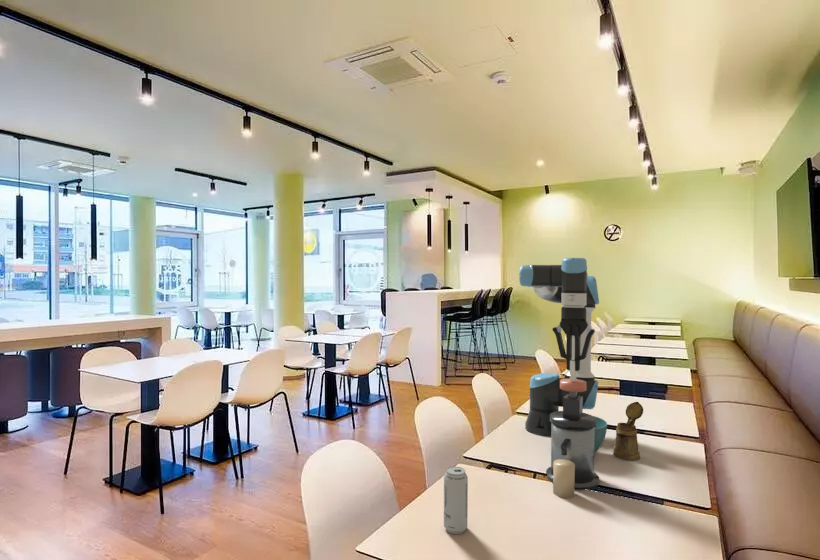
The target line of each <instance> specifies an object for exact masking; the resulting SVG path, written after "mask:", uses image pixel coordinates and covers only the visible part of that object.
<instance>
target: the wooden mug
mask: <svg viewBox="0 0 820 560" xmlns="http://www.w3.org/2000/svg"><path fill="white" fill-rule="evenodd" d="M643 414H644V408H643V406H642V404H640V402H638V401H633V402H631V403H630V404H628V405H627V406H626V409H625V415H626V417H627V421H626V422H618V423H617V425H616V429H615V433H616V434H615V442H614V447H613V451H612V452H613V453H612V455H613V456H614V457H615V458H618V459H619V460H620V459H621V460H625V461H638V460H639V461H640V459H641V453H640V451H639V444H638V443H639V441H638V431H637V430H638V429H637V426H636V425H635V423H636V420H639V419H640V418H641V417H642V416H643Z"/></svg>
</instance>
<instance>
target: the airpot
mask: <svg viewBox="0 0 820 560" xmlns="http://www.w3.org/2000/svg"><path fill="white" fill-rule="evenodd" d="M583 410H584V409H583V396H577V399H575V398H569V395H568V394H566V395H565V396H564V397H563V407H562V410H559V411H556V412H553V413H551V414H550V422H551V435H550V437H551V439H550V440H551V441H550V442H551V443H550V445H551V446H550V447H551V448H550V466H548V468H546V471H545V477H546V479H547V480H548V481H549V482H551V483H552V484H553V462H554V461H555V460H558V459H564V460H569V461H571V462H573V463H574V464H575V484H574V490H579V491H580V490H581V491H582V490H584V491H585V490H591V489H592V490H593V489H595V488H597V487H598V486H599V485H598V484H600V476H599V474H597V473H596V472H595V454H594V437H595V426H596V418H595V417H596V416H595V415H592V414H590V413H585V412H583ZM594 416H595V417H594ZM546 474H547V476H546Z"/></svg>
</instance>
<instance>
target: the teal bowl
mask: <svg viewBox="0 0 820 560" xmlns="http://www.w3.org/2000/svg"><path fill="white" fill-rule="evenodd" d="M593 416H594V417H595V418H596V426H595V437H594V455H595V454H596V453H597V452H598V451H599V449H600V448H601V447H602V445H603V443H604V440H605V438H606V435H607V430H608V422H607V421H606V420H605V419H603V418H600V417H598V416H596V415H593Z"/></svg>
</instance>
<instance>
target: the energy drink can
mask: <svg viewBox="0 0 820 560" xmlns="http://www.w3.org/2000/svg"><path fill="white" fill-rule="evenodd" d="M468 481H469V478H468V475H467V473H466V470H465V468H463V467H460V466H449V467H447V468H446V472H445V474H444V475H443V527H444V528H445V530H446V532H448V533H450V534H453V535H460V534H461V535H462V534H463V533H465V532H466V529H467V528H468V511H469V510H468V509H469V508H468V507H469V506H468V497H469V496H468V490H469V487H468V486H469V485H468V484H469V482H468Z"/></svg>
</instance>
